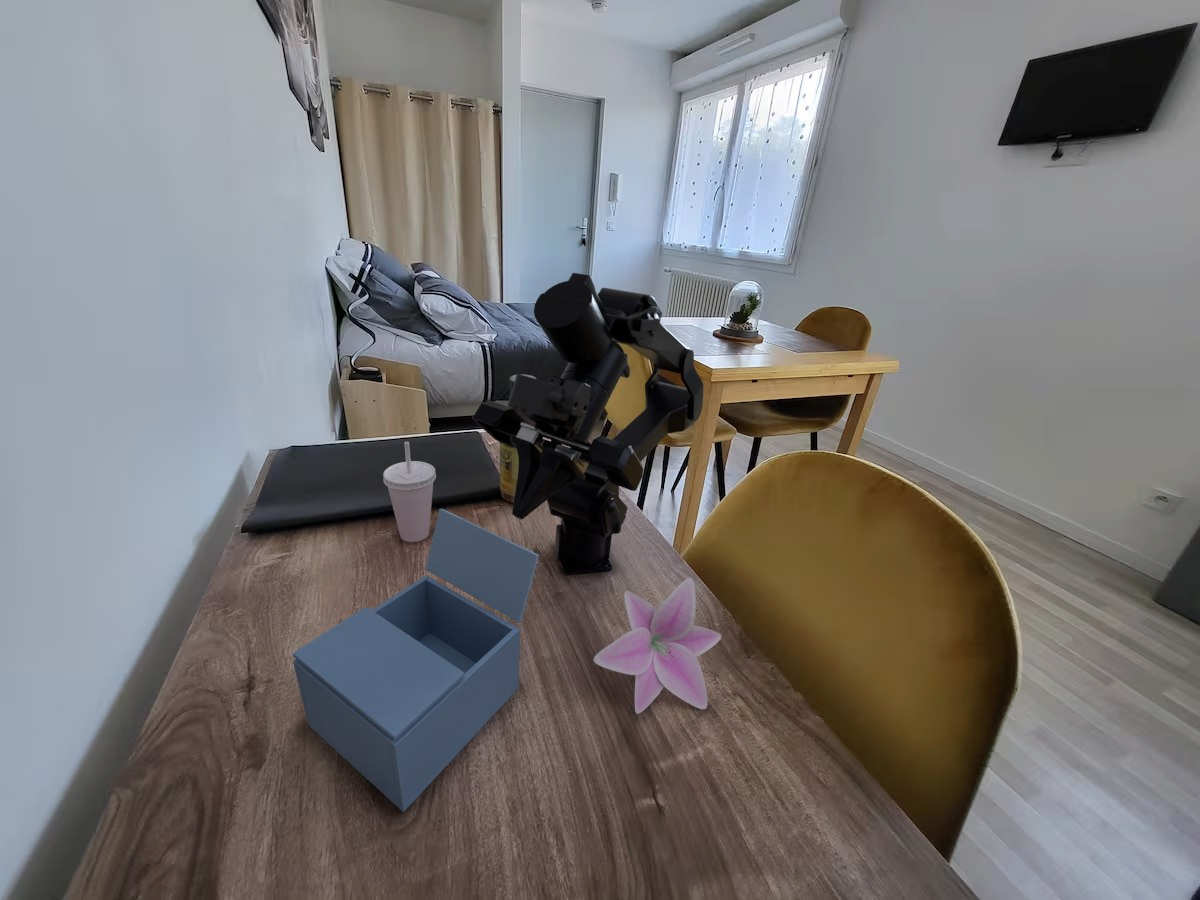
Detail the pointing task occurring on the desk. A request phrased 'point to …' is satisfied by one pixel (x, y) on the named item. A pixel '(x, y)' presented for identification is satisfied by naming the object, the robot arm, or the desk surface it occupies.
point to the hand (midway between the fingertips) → (516, 517)
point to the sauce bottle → (511, 457)
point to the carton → (408, 684)
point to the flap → (482, 564)
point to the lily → (662, 648)
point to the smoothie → (411, 496)
